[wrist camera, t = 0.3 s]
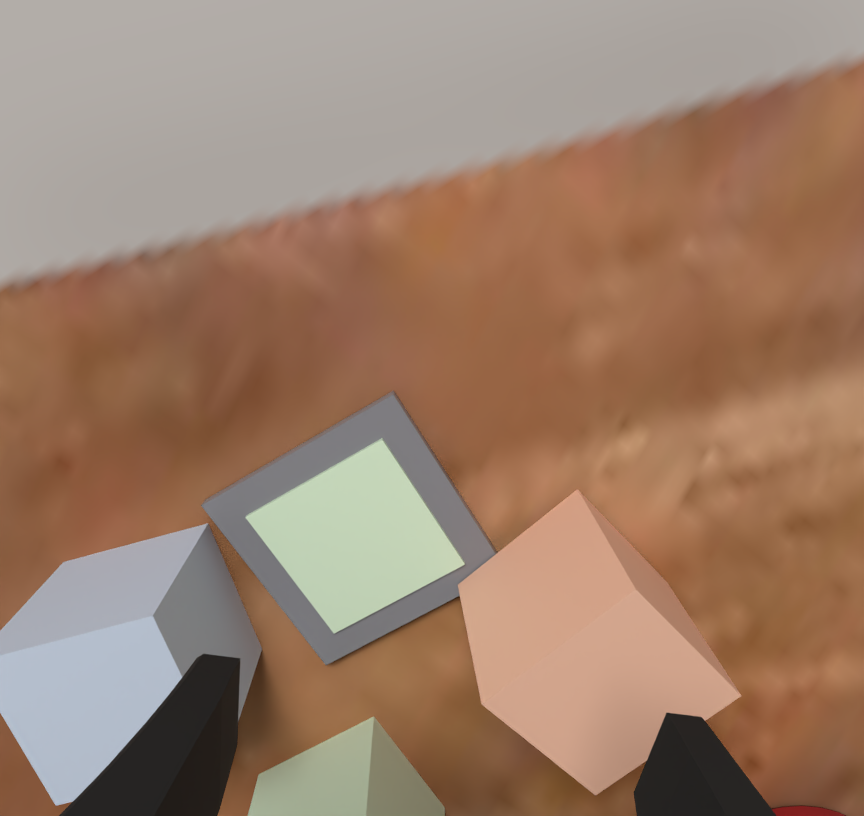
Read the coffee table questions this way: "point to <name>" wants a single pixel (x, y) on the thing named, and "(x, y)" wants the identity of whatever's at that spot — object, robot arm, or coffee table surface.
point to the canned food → (804, 811)
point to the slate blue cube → (115, 650)
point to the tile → (354, 529)
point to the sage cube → (346, 780)
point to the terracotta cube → (586, 645)
